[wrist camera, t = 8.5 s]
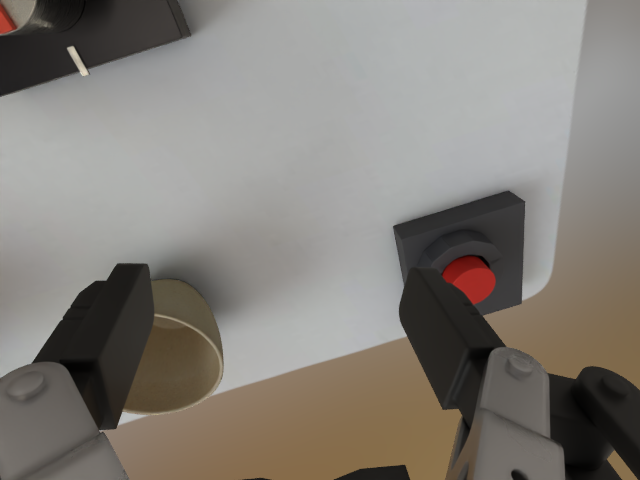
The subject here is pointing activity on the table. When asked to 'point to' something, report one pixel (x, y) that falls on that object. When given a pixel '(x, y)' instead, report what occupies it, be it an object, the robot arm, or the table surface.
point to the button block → (471, 244)
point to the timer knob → (38, 16)
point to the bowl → (177, 353)
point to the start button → (470, 277)
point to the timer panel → (89, 41)
